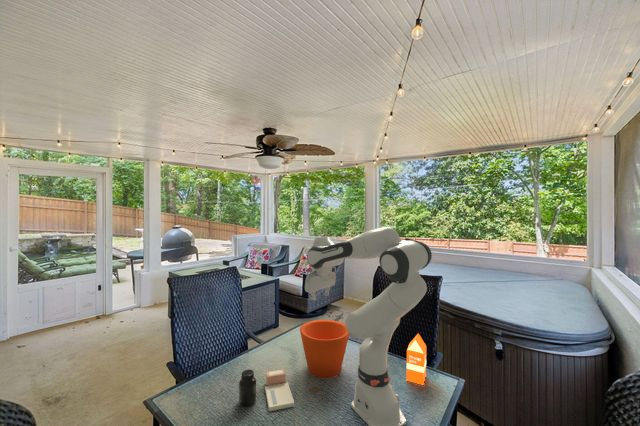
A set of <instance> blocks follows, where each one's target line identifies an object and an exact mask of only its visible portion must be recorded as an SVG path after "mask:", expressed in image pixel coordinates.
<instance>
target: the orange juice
mask: <svg viewBox="0 0 640 426" xmlns="http://www.w3.org/2000/svg"><path fill="white" fill-rule="evenodd" d="M425 377H426V378H427V345H426V343H425V342H424V340H423V338H422V336H421V335H420V334H419V332H418V333H417V334H416V335H415V336H414V338H413V339H412V340H411V341H410V342H409V344H408V347H407V349H406V381H410V382H414V383H417V384H421V385H424V386H425V383H424V381H425V382H426V379H425ZM410 382H409V383H410ZM417 384H416V385H417Z"/></svg>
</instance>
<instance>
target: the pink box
mask: <svg viewBox="0 0 640 426" xmlns="http://www.w3.org/2000/svg"><path fill="white" fill-rule="evenodd" d="M265 373H266V379H265V383H266V385H265V386H268V385H274V384H280V383H285V382H286V371H285V369H277V370H276V369H275V370H272V371H271V370H270V371H266V372H265Z"/></svg>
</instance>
